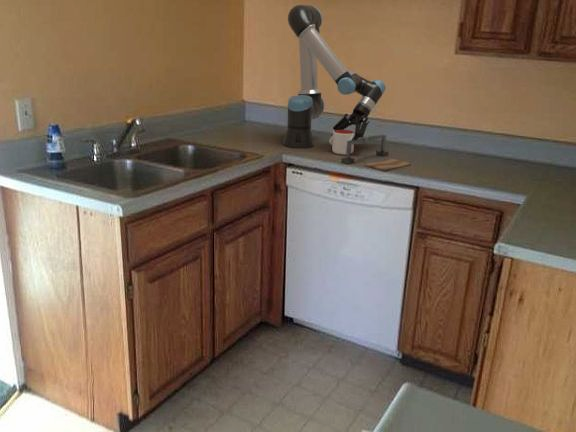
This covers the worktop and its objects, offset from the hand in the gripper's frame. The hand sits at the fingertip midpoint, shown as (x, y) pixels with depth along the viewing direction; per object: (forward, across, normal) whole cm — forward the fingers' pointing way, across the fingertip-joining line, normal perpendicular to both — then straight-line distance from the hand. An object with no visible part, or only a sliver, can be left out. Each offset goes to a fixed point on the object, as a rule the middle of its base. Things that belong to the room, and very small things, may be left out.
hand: (338, 145), depth 252 cm
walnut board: (+1, -28, -4) cm, 28 cm away
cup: (+1, 0, -5) cm, 5 cm away
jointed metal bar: (+1, -14, -5) cm, 15 cm away
